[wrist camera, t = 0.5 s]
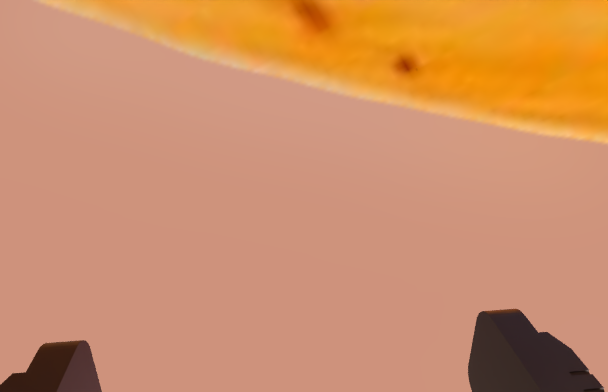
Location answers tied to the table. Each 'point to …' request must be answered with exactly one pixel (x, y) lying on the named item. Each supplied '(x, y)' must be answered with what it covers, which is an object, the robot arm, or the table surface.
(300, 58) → the table surface
